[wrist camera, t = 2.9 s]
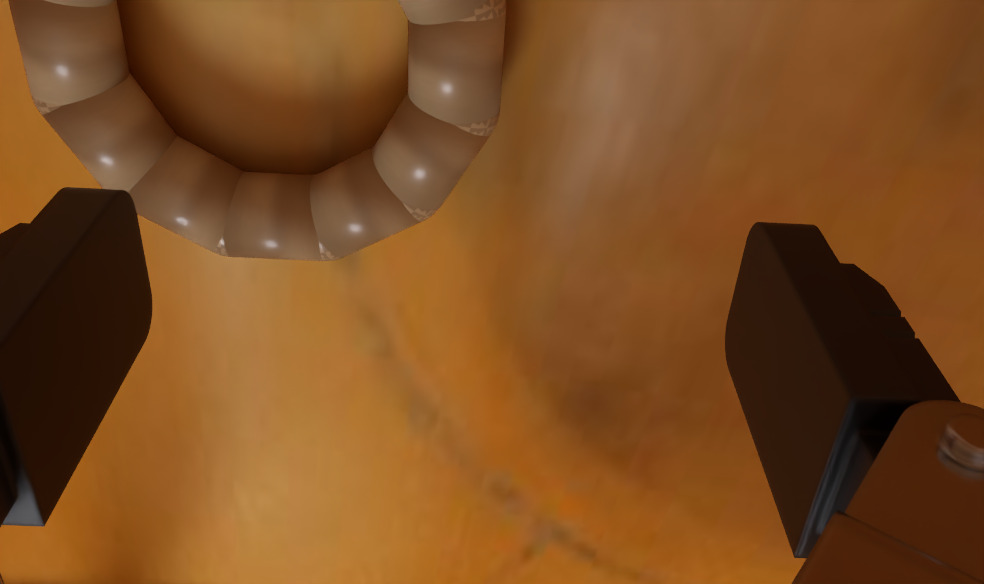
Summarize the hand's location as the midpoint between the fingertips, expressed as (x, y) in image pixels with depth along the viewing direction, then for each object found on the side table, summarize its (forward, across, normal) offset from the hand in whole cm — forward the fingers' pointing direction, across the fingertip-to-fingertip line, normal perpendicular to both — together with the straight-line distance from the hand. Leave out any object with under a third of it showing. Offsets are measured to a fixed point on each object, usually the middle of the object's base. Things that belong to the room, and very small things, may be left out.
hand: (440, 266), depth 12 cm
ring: (+8, +4, 0) cm, 9 cm away
